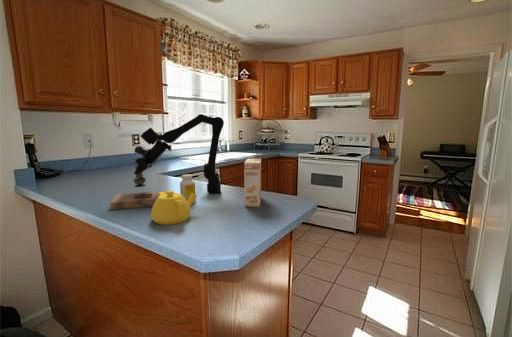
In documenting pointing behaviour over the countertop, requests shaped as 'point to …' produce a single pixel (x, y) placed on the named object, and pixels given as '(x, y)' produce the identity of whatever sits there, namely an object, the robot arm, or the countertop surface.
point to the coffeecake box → (252, 182)
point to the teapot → (171, 208)
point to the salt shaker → (139, 179)
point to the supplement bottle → (187, 186)
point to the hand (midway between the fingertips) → (136, 173)
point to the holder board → (134, 200)
